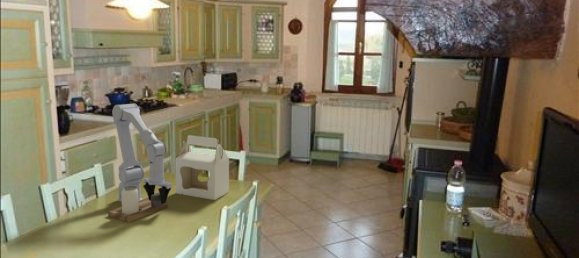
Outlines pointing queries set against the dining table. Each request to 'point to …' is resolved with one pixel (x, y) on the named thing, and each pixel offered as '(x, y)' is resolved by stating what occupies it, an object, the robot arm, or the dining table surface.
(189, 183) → the gable box
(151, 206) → the tan channel tray
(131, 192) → the can
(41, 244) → the dining table surface
